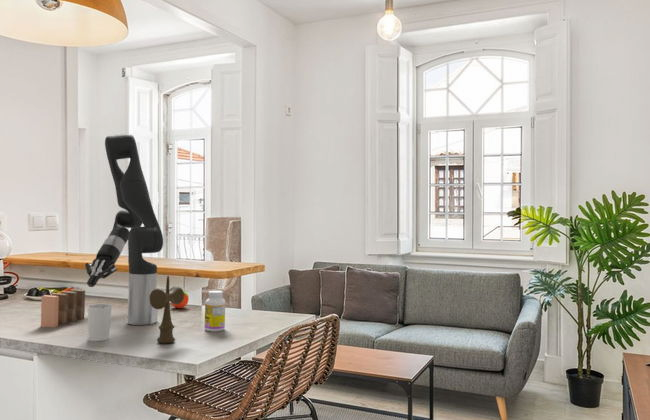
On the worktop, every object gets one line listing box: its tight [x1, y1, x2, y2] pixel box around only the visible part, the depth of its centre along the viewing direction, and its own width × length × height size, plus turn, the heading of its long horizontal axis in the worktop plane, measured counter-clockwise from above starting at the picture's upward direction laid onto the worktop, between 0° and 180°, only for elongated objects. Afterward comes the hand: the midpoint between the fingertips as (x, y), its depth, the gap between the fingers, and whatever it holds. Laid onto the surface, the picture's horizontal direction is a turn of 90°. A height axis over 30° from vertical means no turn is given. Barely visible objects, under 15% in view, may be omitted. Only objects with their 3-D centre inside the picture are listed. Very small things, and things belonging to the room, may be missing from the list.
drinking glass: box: [87, 303, 112, 342], centre depth 165 cm, size 7×7×10 cm
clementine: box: [170, 290, 190, 309], centre depth 217 cm, size 8×7×7 cm
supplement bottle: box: [204, 290, 226, 333], centre depth 182 cm, size 7×7×13 cm
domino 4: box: [68, 288, 86, 320], centre depth 192 cm, size 2×5×10 cm, turn 78°
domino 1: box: [40, 294, 59, 328], centre depth 179 cm, size 2×5×10 cm, turn 78°
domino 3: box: [60, 290, 77, 323], centre depth 188 cm, size 2×5×10 cm, turn 78°
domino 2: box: [50, 292, 68, 326], centre depth 184 cm, size 2×5×10 cm, turn 78°
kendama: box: [150, 275, 185, 345], centre depth 164 cm, size 6×10×20 cm, turn 157°
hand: (90, 285), depth 199 cm, fingers closed
